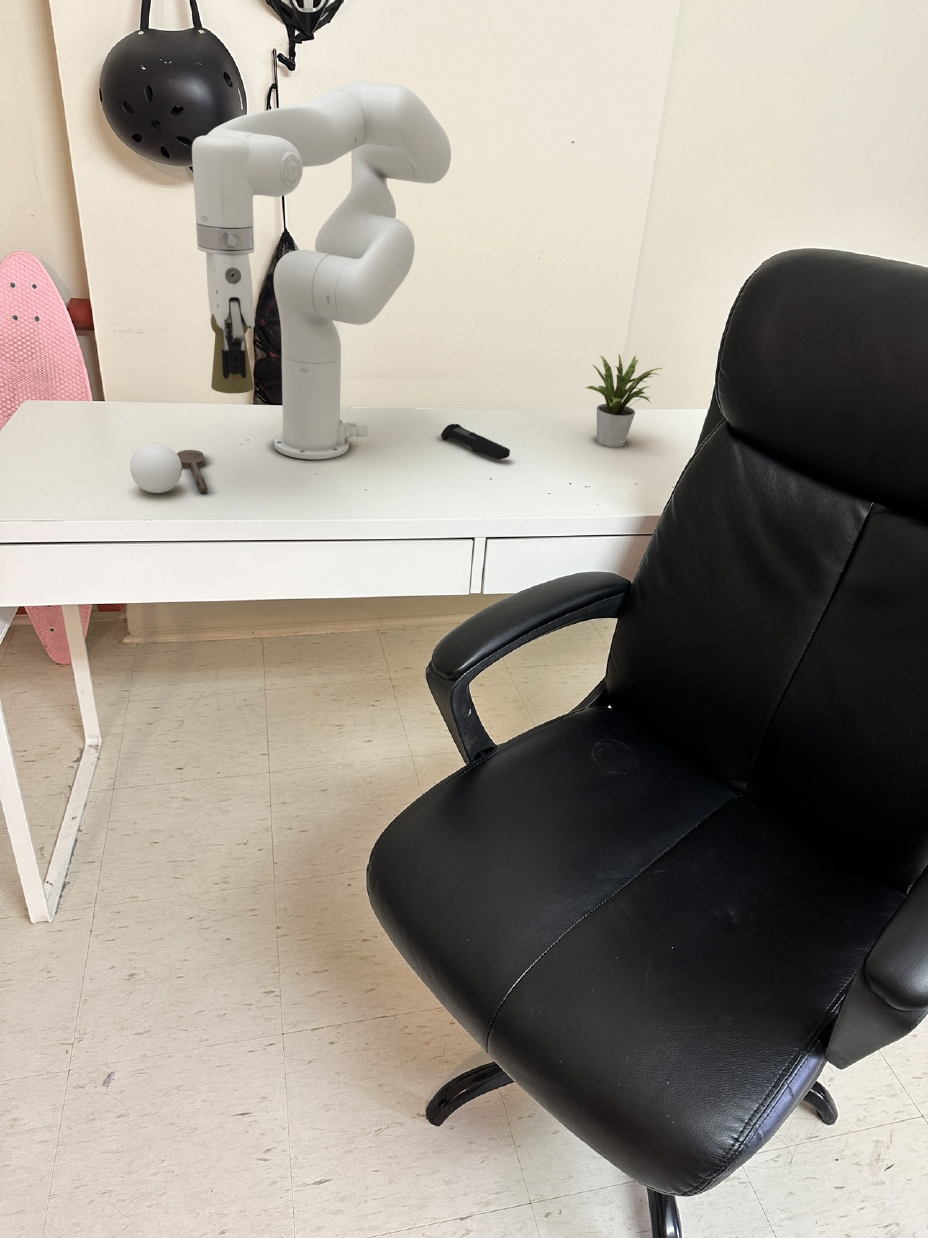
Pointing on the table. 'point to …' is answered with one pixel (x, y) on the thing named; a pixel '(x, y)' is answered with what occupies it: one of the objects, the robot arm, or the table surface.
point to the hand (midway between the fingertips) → (231, 371)
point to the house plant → (617, 403)
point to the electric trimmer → (475, 442)
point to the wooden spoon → (194, 466)
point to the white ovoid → (155, 468)
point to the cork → (218, 381)
